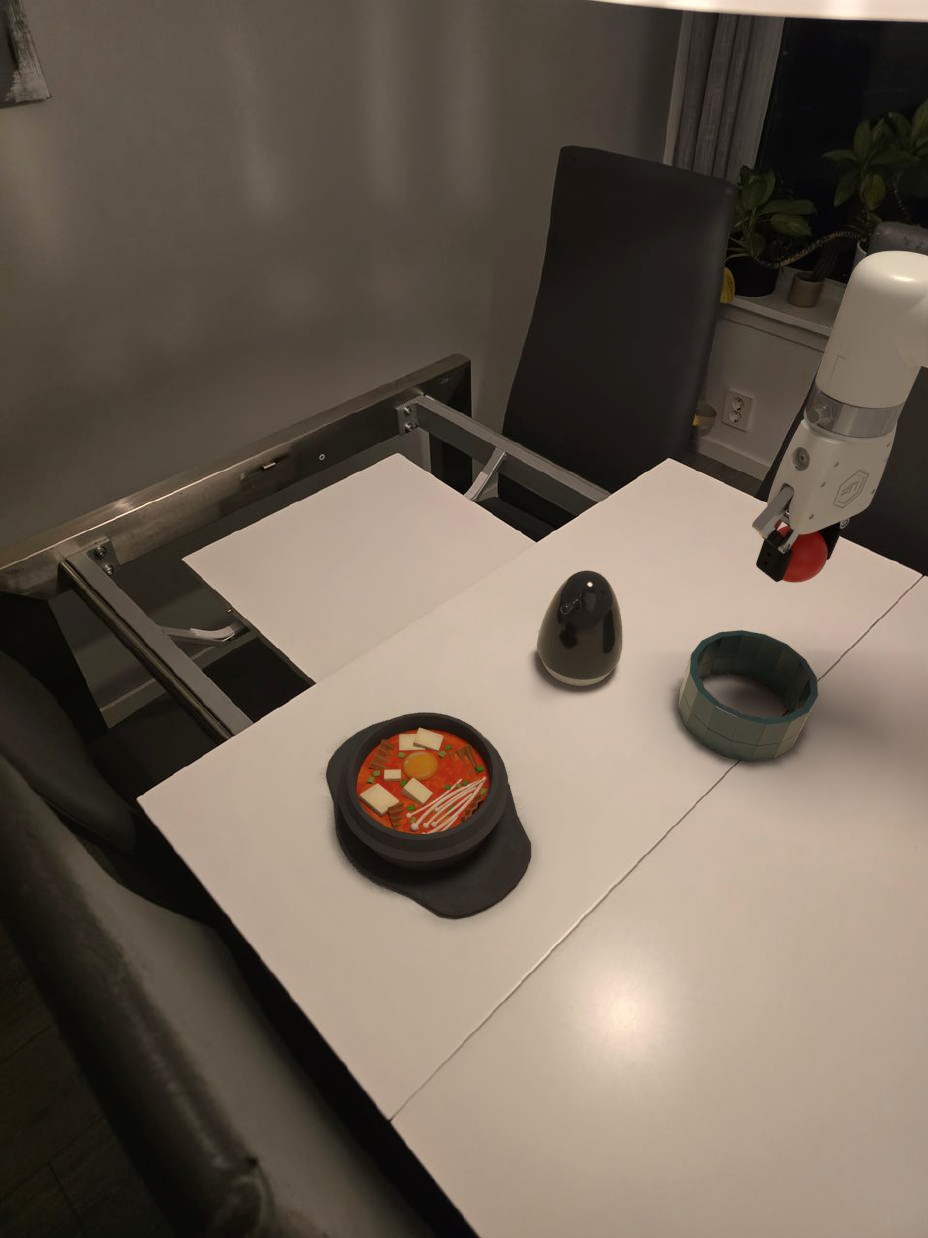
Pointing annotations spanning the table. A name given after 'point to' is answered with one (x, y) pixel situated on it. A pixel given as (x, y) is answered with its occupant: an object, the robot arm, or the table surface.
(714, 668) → the green cylindrical ring
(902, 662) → the table surface
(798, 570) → the tomato
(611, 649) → the black egg shape
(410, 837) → the casserole
